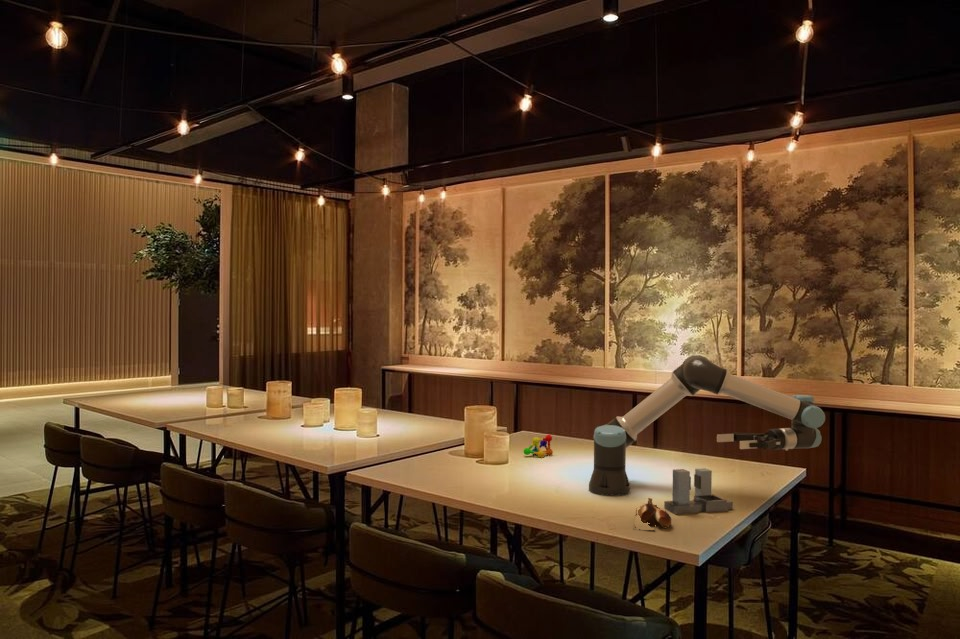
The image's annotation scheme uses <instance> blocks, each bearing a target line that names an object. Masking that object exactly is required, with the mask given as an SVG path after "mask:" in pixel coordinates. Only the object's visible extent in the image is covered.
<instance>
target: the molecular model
mask: <svg viewBox="0 0 960 639" xmlns="http://www.w3.org/2000/svg"><path fill="white" fill-rule="evenodd" d="M552 440H553V436H552V435H551V434H547V435H546V436H545V437H543V438H539V437H537V436H536V437H533V438H532V443H531V444H530V446H529V447H525V448H524V449H523V453H524V455H525V456H529V455H531V454H533V455H534V454H536V455H535V456H537V457H538V458H540V457H542V458H544V456H545V455H546V456H548V455H551V456H552V455H553V453H554V452H553V449H551V442H552ZM539 443H540V444H539ZM533 447H534V448H533ZM542 447H544V448H545V450H541V448H542ZM531 449H532V450H531Z"/></svg>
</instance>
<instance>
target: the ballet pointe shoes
mask: <svg viewBox="0 0 960 639" xmlns="http://www.w3.org/2000/svg"><path fill="white" fill-rule="evenodd" d="M639 508H640V509H639V510H638V515H639V516H640V518H641V521H642V522H643V523H647V522H648V523H650V524H648V525H649V526H650V527H651V528H655V529H656V527H658V526H660V527H659V528H662V527H667V528H669V527H670V526H671V524H672V517H671V515H670V514H669V513H668V512H667V510H663V509H662V508H661V507H659V506H658V504H653V499H652V498H651V497H650V498H649V497H648V500H647V503H643V504H641V505H640V506H639ZM655 525H656V527H655ZM668 526H669V527H668Z"/></svg>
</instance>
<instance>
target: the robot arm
mask: <svg viewBox="0 0 960 639" xmlns="http://www.w3.org/2000/svg"><path fill="white" fill-rule="evenodd" d="M700 391H706V392H709V393H712V394H715V395H721V394H722V395H725V396H728V397H730V398H733V399H736V400H738V401H741V402H744V403H746V404H749V405H751V406H755V407H756V408H759V409H763V410H764V411H768V412H770V413H773V414H776V415H778V416H781V417H783V418H786V419H788V420H791V422H790V423H791V427H783V428H782V427H781V428H769V429H767V430H766V432H765V433H761V432H760V433H757V432H755V433H754V432H752V433H751V432H750V433H747V432H729V433H721V434H718V433H717V434H716V442H717V443H728V442H730V443H734V442H739V449H740V450H749V449H763V450H764V451H766V450H772V451H780V450H785V451H786V452H787V451H789V450H795V449H797V450H798V449H811V448H816V447H819V446H820V444H821V443H822V435H821V431H820V430H819V429H818V428H820V427H821V426H823V424H824V423H825V422H826V414H825V412H824V411H823V409H822V408H821V407H819V406H817V405H815V398H814V396H813V395H809V394H808V395H807V394H793V395H792V396H790V395H787V394H784V393H782V392H779V391H777V390H774V389H772V388H768V387H767V386H763V385H761V384H759V383H755V382H752V381H750V380H747V379H746V378H745V379H744V378H743V377H739V376H737V375H734V374H731V373H730V372H729V370H728V369H726V368H723V367H720V365H717V364H716V363H713V362H712V361H711V360H710V359H709V358H707V357H705V356H703V355H697V354H695V355H690V356H689V357H687V358H686V359H684V360H683V362H682V364H680V365H679V366H678V367H676V368H675V369H674V370H673V371H672V372H671V377H670V379H668V380H667V381H666V382H664V383H663V384H662V385H661V386H659V387H658V388H657V389H656V390H655V391H653V392H652V393H651V394H649V395H648V396H646V397H645V398H644V399H643V400H642V401H641V402H639V403H638V404H637V405H636V406H635V407H633V408H632V409H630V410H629V411H628V412H627V413H626V414H625V415H623V416H619V415H618V416H616V417H614V418H613V419H612V420H611V421H609V422H608V423H606V424H604V425H600V426H597V427H595V429H594V430H593V433H594V434H593V471H592V474H591V475H590V476H591V477H590V480H589V483H588V491H590V492H591V493H593V492H594V493H593V494H596V493H597V494H596V495H601V494H603V495H602V496H624V495H628V494H630V493H631V484H630V481H629V478H628V474H627V471H626V462H627V461H626V457H627V456H626V454H627V453H626V452H627V451H626V450H627V448H628V447H630V446H631V445H632V444H633V443H634V442H637V438H638V434H640V433H641V432H642V431H644V430H645V429H646V428H647V427H648V426H650V425H651V424H652V423H653V422H654V421H656V420H657V419H659V418H660V417H661V416H662V415H664V414H665V413H666V412H668V411H669V409H671V408H672V407H674V406H675V405H676V404H678V403H679V402H680V401H682V400H683V398H685V397H687V396H689V397H693V396H695V394H697V393H698V392H700Z"/></svg>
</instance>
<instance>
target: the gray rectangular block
mask: <svg viewBox="0 0 960 639" xmlns="http://www.w3.org/2000/svg"><path fill="white" fill-rule="evenodd" d="M694 471H695V472H694V474H693V476H694V478H693V479H694V481H693V482H694V483H693V487H694V496H698V495H712V483H713V482H712V481H713V480H712V478H713V477H712V476H713V475H712V474H713V473H712V470H710V469H709V468H708V469H707V468H706V467H705V468H695V469H694Z"/></svg>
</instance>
